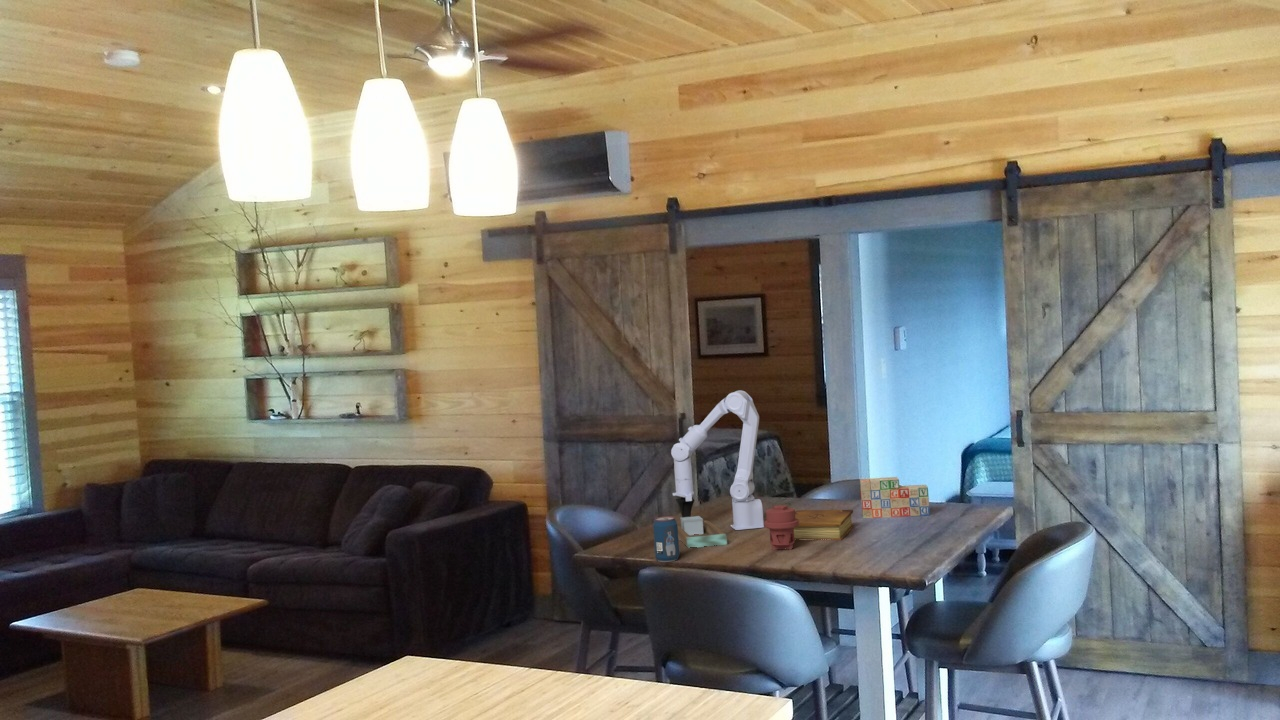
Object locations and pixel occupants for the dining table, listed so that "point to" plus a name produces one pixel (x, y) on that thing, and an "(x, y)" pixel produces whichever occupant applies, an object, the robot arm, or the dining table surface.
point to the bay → (700, 541)
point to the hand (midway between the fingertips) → (686, 520)
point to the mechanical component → (781, 526)
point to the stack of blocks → (892, 498)
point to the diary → (823, 524)
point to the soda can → (666, 539)
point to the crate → (692, 525)
